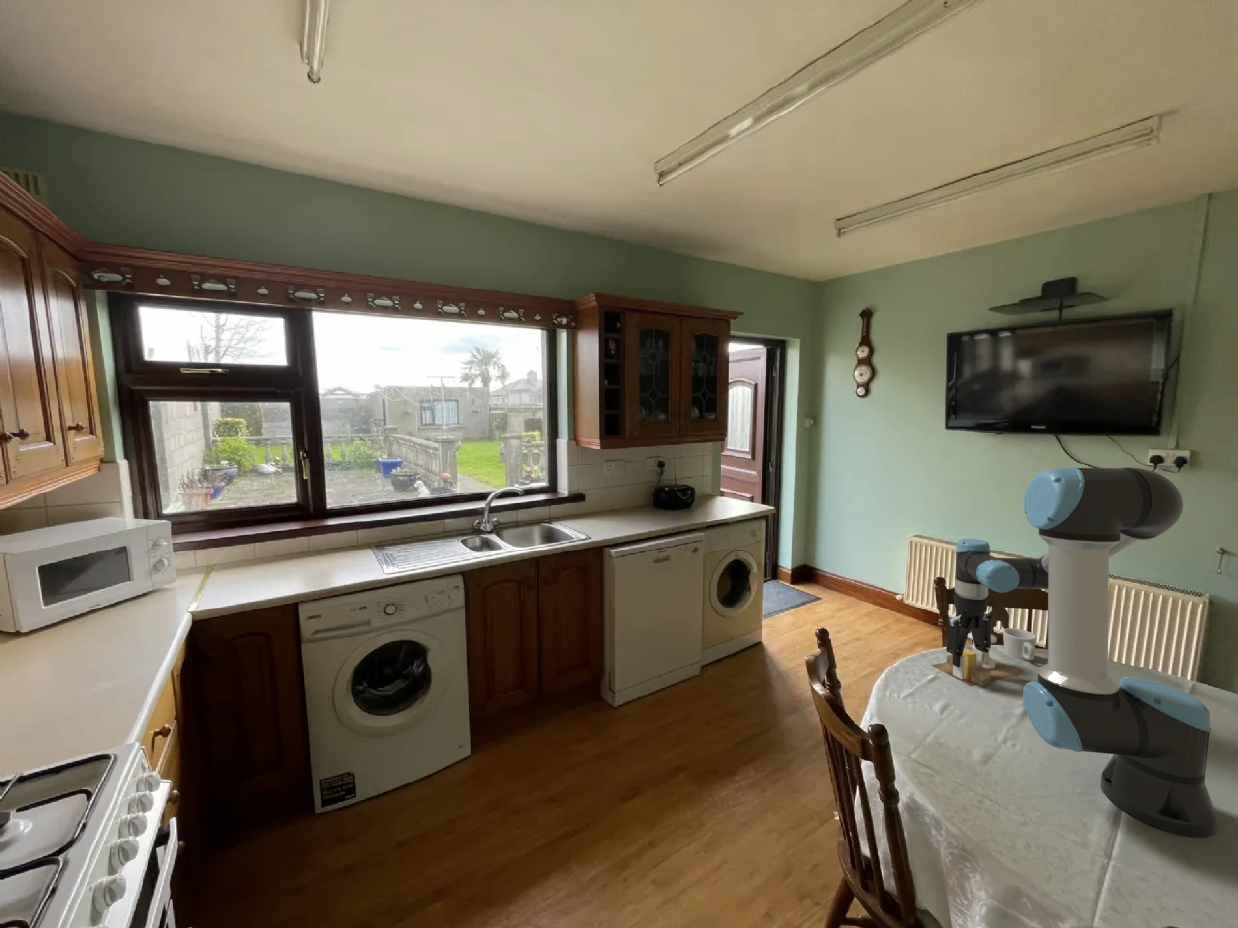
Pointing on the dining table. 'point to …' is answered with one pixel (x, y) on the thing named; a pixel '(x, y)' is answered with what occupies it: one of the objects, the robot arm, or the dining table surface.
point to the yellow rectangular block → (969, 662)
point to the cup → (1019, 643)
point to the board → (997, 670)
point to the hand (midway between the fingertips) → (967, 674)
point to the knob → (987, 662)
